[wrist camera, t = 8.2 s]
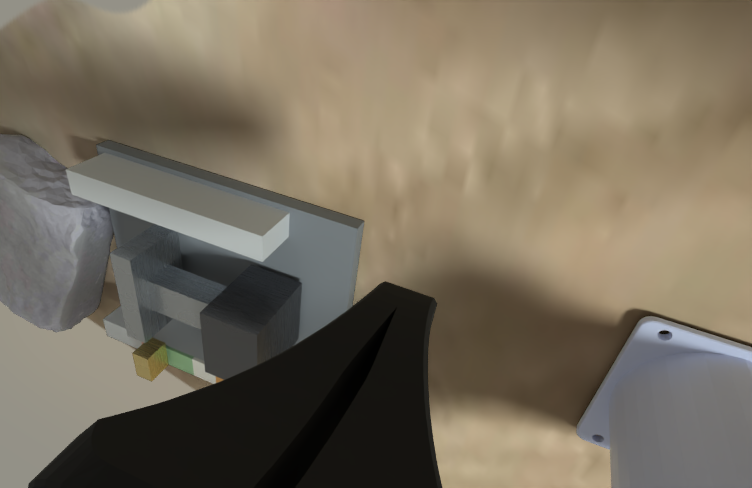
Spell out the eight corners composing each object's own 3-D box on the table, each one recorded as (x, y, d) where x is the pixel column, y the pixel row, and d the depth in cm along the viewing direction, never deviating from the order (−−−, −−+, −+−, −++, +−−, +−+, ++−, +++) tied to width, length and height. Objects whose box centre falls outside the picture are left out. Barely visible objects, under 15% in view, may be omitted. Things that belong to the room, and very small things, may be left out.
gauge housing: (364, 221, 23) (334, 257, 20) (341, 387, 30) (316, 431, 27) (108, 139, 26) (53, 162, 24) (139, 306, 33) (99, 337, 30)
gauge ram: (302, 270, 24) (256, 322, 21) (297, 362, 28) (257, 419, 25) (160, 220, 26) (98, 260, 23) (173, 313, 30) (121, 359, 27)
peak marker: (165, 342, 28) (147, 359, 26) (168, 364, 29) (151, 381, 27) (150, 336, 28) (132, 353, 27) (154, 358, 29) (136, 375, 28)
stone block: (24, 232, 37) (108, 321, 35) (-52, 254, 33) (38, 356, 32) (33, 100, 30) (138, 202, 29) (-60, 109, 27) (54, 228, 25)
